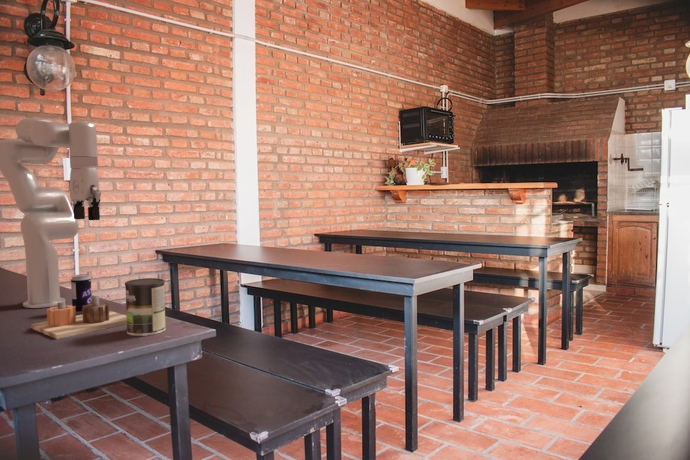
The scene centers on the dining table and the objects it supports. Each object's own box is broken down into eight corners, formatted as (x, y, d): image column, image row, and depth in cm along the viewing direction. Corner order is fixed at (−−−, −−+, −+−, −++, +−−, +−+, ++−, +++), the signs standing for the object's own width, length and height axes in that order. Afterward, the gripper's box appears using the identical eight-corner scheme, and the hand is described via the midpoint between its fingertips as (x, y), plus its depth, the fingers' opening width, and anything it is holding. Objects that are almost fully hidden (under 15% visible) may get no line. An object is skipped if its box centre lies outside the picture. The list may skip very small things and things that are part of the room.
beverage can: (84, 314, 162) (82, 277, 161) (68, 313, 163) (66, 276, 162) (96, 310, 167) (94, 274, 166) (81, 309, 168) (79, 273, 168)
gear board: (31, 328, 146) (29, 299, 145) (107, 313, 163) (106, 287, 162) (56, 339, 135) (55, 307, 135) (135, 322, 152) (134, 294, 152)
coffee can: (133, 338, 136) (131, 286, 134) (121, 330, 143) (119, 280, 142) (171, 331, 142) (170, 281, 141) (158, 324, 150) (156, 276, 149)
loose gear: (41, 325, 144) (40, 309, 144) (62, 319, 151) (61, 304, 151) (61, 327, 142) (61, 311, 142) (81, 321, 149) (80, 305, 149)
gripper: (58, 164, 158) (61, 219, 159) (84, 162, 147) (87, 221, 149) (83, 164, 164) (86, 218, 165) (110, 163, 153) (112, 220, 154)
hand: (86, 219), depth 157 cm, fingers open, 9 cm apart
